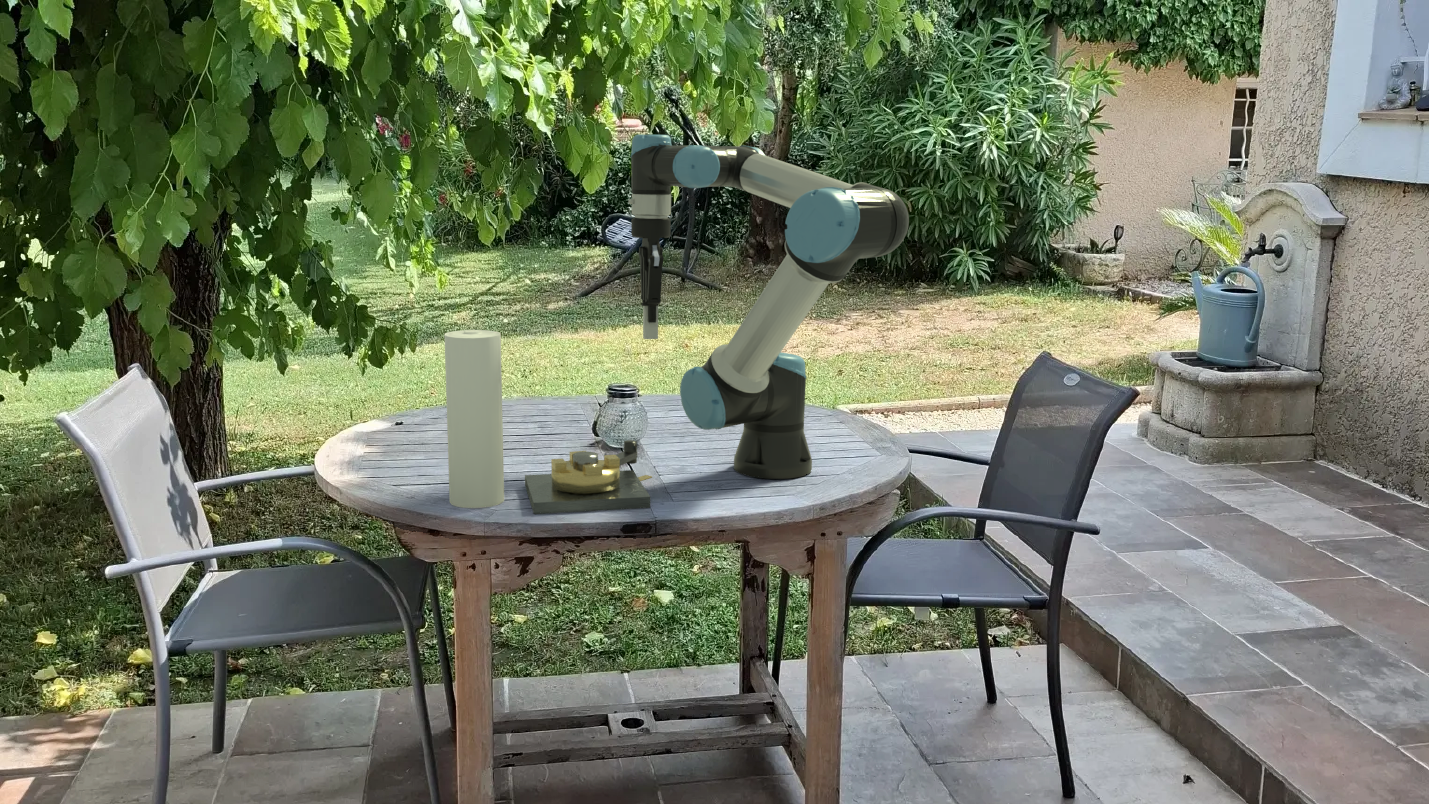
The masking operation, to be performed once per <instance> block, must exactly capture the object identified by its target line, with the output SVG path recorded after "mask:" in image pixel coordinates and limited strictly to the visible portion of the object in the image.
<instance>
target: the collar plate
mask: <svg viewBox="0 0 1429 804" xmlns="http://www.w3.org/2000/svg"><path fill="white" fill-rule="evenodd" d="M651 478H653V476H652V475H647V474H644V475H641V476H638V475H637V474H636V473H635V471H634V470H633V469H629V470H628V469H627V470H620V485H619V486H618V487H617V488H615V489H613V490H609V491H605V492H599V493H569V492H564V491H560V490H557V489H555V488H553V487H552V473H544V474H543V473H542V474H540V473H539V474H525V475H524V487H525V491H526V492H527V493H526V494H527V497H528V500H529V503H530V506H531V510H532V514H533V515H541V514H542V515H546V514H560V513H563V514H564V513H579V512H580V513H582V512H584V513H585V512H596V511H597V512H599V511H616V510H617V511H618V510H638V509H650V508H651V495H650V494H649V492H648V491H647V489H646V488H645V486H644V485H643V484H642V481H645V480H649V479H651Z"/></svg>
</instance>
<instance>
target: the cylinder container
mask: <svg viewBox="0 0 1429 804" xmlns="http://www.w3.org/2000/svg"><path fill="white" fill-rule="evenodd" d="M501 334H502V333H501V332H499V331H495V330H488V329H462V330H453V331H448V332H444V360H445V361H444V363H445V365H444V366H445V367H444V368H445V397H446V399H445V401H446V425H447V426H446V428H447V429H446V431H447V458H448V462H447V463H448V491H449V492H448V495H449V497H448V498H449V504H450V503H451V505H452V506H453V507H457V508H462V509H483V508H484V509H485V508H491V507H495V506H498V505H500V504H503V503H504V502H505V477H504V476H505V473H504V471H505V470H504V468H505V467H504V429H503V428H504V426H503V425H504V423H503V386H502V385H503V381H502V379H503V377H502V372H503V371H502V340H501V339H502V338H501V337H502V335H501Z"/></svg>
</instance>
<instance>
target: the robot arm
mask: <svg viewBox="0 0 1429 804" xmlns="http://www.w3.org/2000/svg"><path fill="white" fill-rule="evenodd" d="M630 163H631V165H630V167H631V172H630V173H631V174H630V176H631V198H629V199H628V204H629V205H631V214H632V215H633V216H634V217H633V218H632V219H631V220H630V221H631V223H630V224H631V225H630V226H631V233H630V234H631V236H632V237H633V238H635V239H637V238H639V239H642V241H641V246H639V248H638V249H639V250H638V258H639V273H640V274H639V275H640V299H641V300H642V302H641V307H642V311H643V312H642V337H643V338H642V339H644V340H659V305H660V304H661V301H662V299H661V298H662V297H661V296H662V278H663V264H664V259H665V257H664V255H663V253H664V252H663V247H661V242H660V239H667V238H670V236H671V223H672V222H671V219H670V218H669V216H671V215H672V214H671V212H672V190H671V187H682V188H689V189H701V188H707V187H709V188H710V187H712V188H713V187H717V188H719V187H730V188H731V187H732V188H735V189H738V190H741V191H744V192H747V193H749V194H752V195H755V196H757V197H760V198H763V199H766V200H768V201H770V202H773V203H776V204H778V205H781V206H784V207H786V208H789V211H788V213H787V215H786V218H785V225H786V228H785V229H784V236H785V242H784V250H785V252H786V255H785V257H784V258H783V260H782V262H781V263H780V265H779V266H778V267H777V269H776V271H775V272H774V273H773V275H772V276H771V278H770V280H769V281H768V282H767V284H766V286H765V287H764V289H763V290H762V292H761V293H760V295H759V296H758V298H757V300H756V301H755V302H754V304H753V305H752V307H751V309H750V310H749V311H748V313H747V315H746V316H745V317H744V320H743V321H742V322H741V324H740V325H739V327H738V329H737V330H736V331H735V334H733V336H732V338H731V339H730V341H729V342H728V344H721V345H719V346H717V347H716V348H715V349H714V350H713V351H712V353H711V354H710V355H709V357H708V359H707V360H706V362H705V363H704V365H702V366H699V365H698V366H694V367H692V368H689V369H688V370H686V371H685V373H684V374H683V376H682V378H681V381H680V384H679V385H680V386H679V395H680V401H681V405H682V408H683V411H684V413H685V415H686V417H687V418H688V419H689V421H690V422H691V423H692V425H694V426H695V427H696V428H699V429H701V430H706V431H707V430H709V431H710V430H722V429H725V428H728V427H734V426H738V425H743V431H742V434H741V437H740V440H739V442H738V445H737V448H736V451H735V454H734V458H733V470H734V471H735V472H737V473H738V474H741V475H744V476H748V477H751V478H758V479H769V480H771V479H772V480H784V479H787V480H788V479H796V478H801V477H804V476H806V474H807V475H808V474H811V473H812V471H813V468H812V467H813V463H812V462H813V459H812V456H811V452H810V448H809V445H808V442H807V438H806V435H805V434H806V433H805V408H806V407H805V405H806V404H805V403H806V384H807V382H806V381H807V375H806V361H805V360H804V358H803V357H801V356H800V355H796V354H793V353H788V352H787V353H786V352H782V351H783V350H784V348H785V347H786V346H787V344H788V343H789V341H790V340H791V338H792V336H794V334H795V332H796V331H797V330H798V328H799V326H800V325H801V324H802V322H803V321H804V319H805V318H806V317H807V315H808V314H810V313H809V312H810V311H811V310H812V309H813V308H814V305H815V304H816V303H817V301H818V300H819V298H820V297H821V295H823V293H824V292H825V289H826V288H827V287H828V285H829V284H835V283H839V282H841V281H842V280H843V279H844V278H845V277H846V275H847V274H848V273H849V272H850V270H851V269H852V267H853V266H854V264H855V263H856V262H857V261H858V260H859V259H870V258H871V259H872V258H878V257H883V256H886V255H888V254H890V253H892V252H893V251H895V250H896V249H897V248H898V247H899V246H900V245H901V244H902V242H903V241H904V239H905V237H906V236H907V233H908V230H909V224H910V223H909V221H910V218H909V212H908V209H907V206H906V204H905V203H904V201H903V200H902V199H901V197H900V196H899V195H898V194H897V193H895V192H894V191H892V190H890V189H887V188H883V187H880V186H876V185H873V184H870V183H867V182H856V183H854V184H851V183H847V182H844V181H842V180H839V179H835V178H834V177H830V176H827V175H825V174H821V173H818V172H815V171H813V170H810V169H806V168H804V167H800V166H798V165H796V164H792V163H788V162H785V161H783V160H779V159H776V158H774V157H771V156H768V155H766V154H765V152H763V150H761V149H760V148H758V147H754V146H748V145H738V146H737V145H735V146H733V145H730V146H728V145H723V146H720V145H719V146H718V145H699V144H697V145H694V144H689V145H672V138H671V136H670V135H668V134H635V135H634V136H633V137H632V140H631V154H630ZM811 470H812V471H811Z"/></svg>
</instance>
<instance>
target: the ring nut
mask: <svg viewBox="0 0 1429 804" xmlns="http://www.w3.org/2000/svg"><path fill="white" fill-rule="evenodd" d="M623 444H624V445H623V451H621V452H619V453H617V454H607V455H606V454H605V455H603V457H604V459H599V453H597V452H595V451H587V450H578V451H577V450H576V451H575V450H574V451H569V460H565V459H564V458H552V459H551V460H550V461H551V474H552V487H553V488H555V489H557V490H560V491H564V492H569V493H599V492H605V491H609V490H613V489H615V488H617V487H618V486H619V485H620V471H621V470H620V469H621V466H623V465H624V464H628V465H633V464H637V462H638V451H637V449H638V448H637V447H638V442H637V440H633V439H632V440H631V439H630V440H629V439H628V440H624V441H623Z"/></svg>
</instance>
